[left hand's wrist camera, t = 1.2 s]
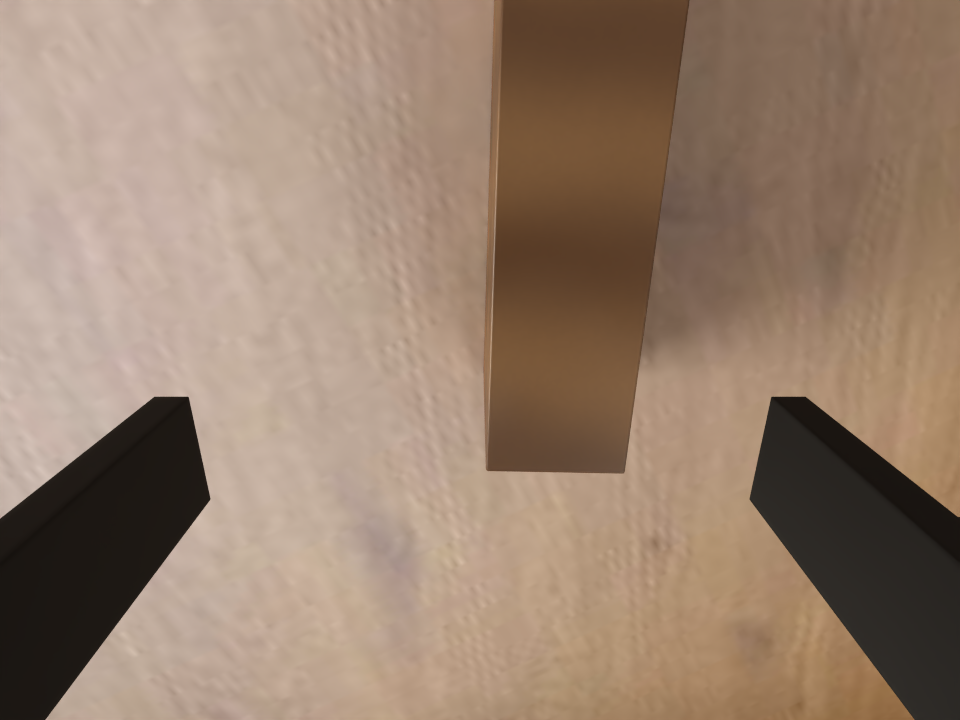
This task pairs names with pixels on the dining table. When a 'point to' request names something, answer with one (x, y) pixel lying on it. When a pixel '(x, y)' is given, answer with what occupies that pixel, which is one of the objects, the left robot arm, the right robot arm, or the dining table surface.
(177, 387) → the dining table surface
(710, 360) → the dining table surface
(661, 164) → the bar
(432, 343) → the dining table surface
